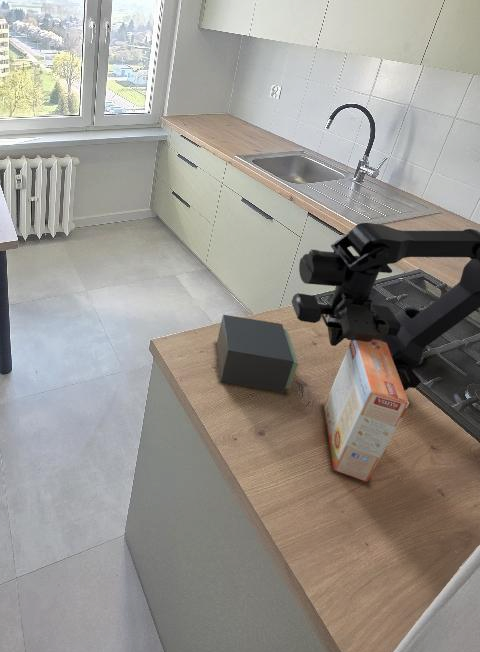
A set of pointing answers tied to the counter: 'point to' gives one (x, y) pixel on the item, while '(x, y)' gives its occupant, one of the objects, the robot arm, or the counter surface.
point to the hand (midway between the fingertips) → (332, 344)
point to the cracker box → (363, 408)
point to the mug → (408, 318)
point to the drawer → (293, 359)
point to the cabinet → (253, 353)
